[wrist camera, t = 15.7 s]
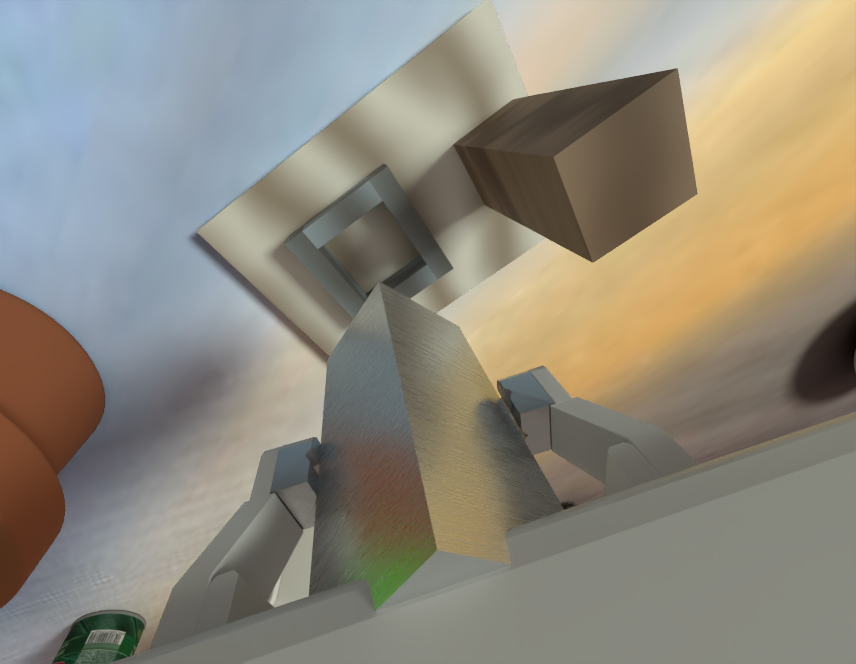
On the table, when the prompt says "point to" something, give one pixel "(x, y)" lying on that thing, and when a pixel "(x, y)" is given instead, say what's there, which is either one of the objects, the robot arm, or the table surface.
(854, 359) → the serving bowl
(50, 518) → the potted cactus
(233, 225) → the socket board with post
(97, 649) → the canned tomato
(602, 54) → the table surface
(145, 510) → the table surface
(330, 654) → the robot arm
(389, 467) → the gray rectangular block
